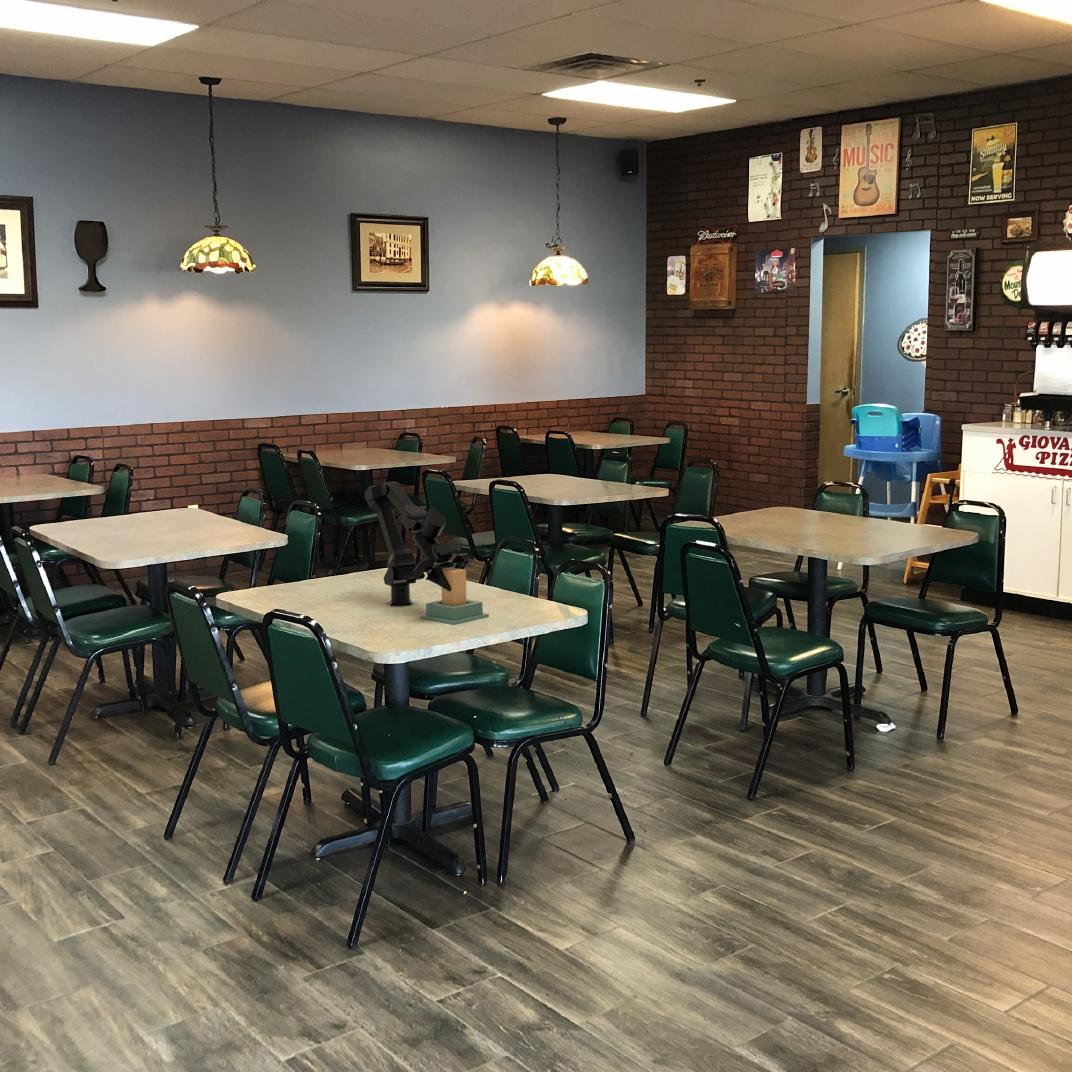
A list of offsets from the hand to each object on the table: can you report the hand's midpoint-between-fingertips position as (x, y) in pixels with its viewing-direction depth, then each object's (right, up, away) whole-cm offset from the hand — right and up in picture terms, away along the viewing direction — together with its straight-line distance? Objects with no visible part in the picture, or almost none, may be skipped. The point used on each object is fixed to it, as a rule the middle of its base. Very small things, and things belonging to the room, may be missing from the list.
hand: (457, 589), depth 348 cm
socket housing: (-1, -8, +2) cm, 9 cm away
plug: (-1, -6, +2) cm, 7 cm away
